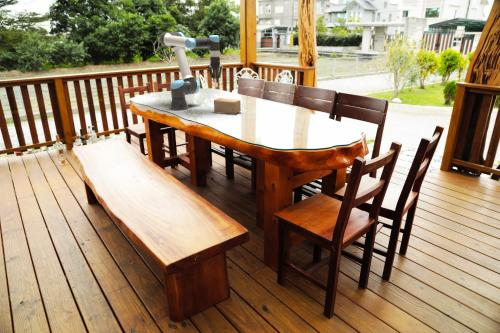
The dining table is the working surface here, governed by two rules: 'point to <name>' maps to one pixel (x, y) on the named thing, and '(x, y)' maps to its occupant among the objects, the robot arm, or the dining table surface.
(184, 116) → the dining table surface
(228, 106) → the wooden block
